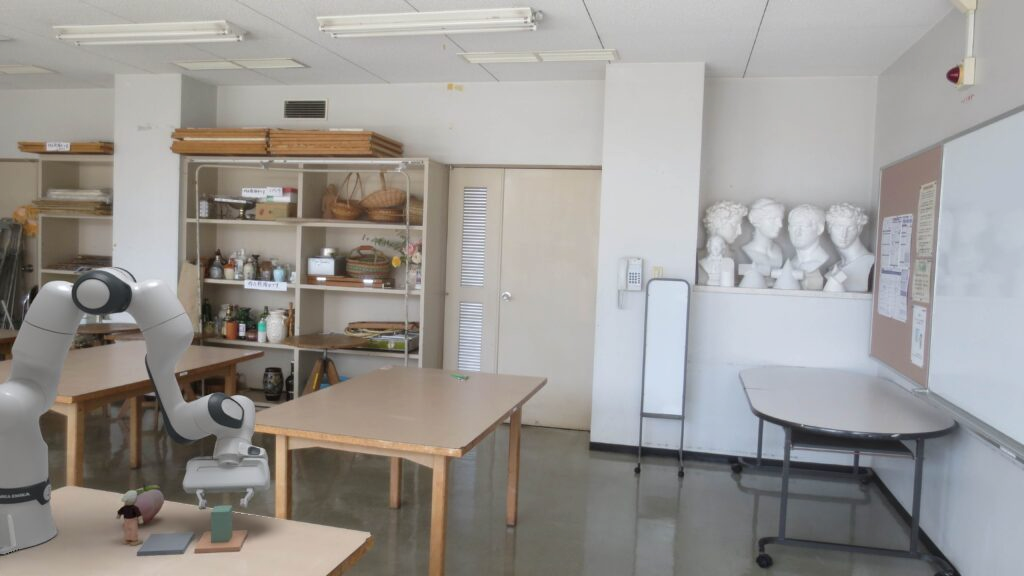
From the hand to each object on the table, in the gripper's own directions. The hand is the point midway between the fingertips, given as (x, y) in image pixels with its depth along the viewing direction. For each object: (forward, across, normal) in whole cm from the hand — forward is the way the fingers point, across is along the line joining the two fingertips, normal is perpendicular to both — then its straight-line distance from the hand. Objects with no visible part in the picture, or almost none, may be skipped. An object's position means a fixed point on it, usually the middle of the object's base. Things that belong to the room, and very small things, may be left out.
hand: (222, 507), depth 173 cm
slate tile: (+7, -12, +5) cm, 15 cm away
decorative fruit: (-4, -22, +16) cm, 28 cm away
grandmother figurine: (+5, -21, +7) cm, 23 cm away
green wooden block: (+6, 0, +4) cm, 7 cm away
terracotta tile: (+7, 0, +5) cm, 8 cm away
